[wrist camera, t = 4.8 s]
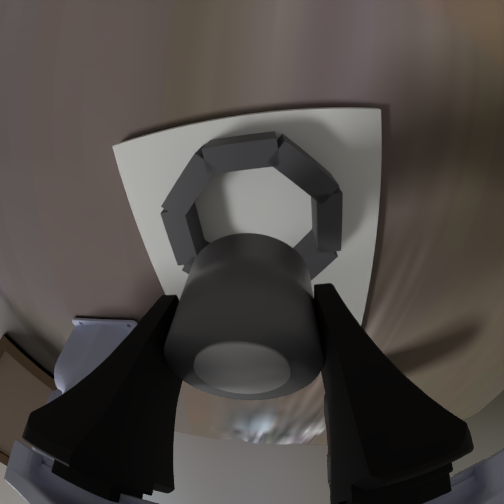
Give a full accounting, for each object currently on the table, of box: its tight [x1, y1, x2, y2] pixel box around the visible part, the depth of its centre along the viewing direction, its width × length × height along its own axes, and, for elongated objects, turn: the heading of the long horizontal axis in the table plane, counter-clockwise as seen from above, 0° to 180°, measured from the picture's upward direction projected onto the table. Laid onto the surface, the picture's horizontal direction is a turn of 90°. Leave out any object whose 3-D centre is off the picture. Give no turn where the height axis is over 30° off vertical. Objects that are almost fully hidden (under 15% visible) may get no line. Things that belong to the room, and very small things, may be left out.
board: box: [112, 107, 382, 326], centre depth 19 cm, size 16×24×3 cm, turn 8°
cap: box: [164, 233, 323, 400], centre depth 10 cm, size 5×5×4 cm
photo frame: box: [0, 335, 58, 466], centre depth 29 cm, size 15×22×25 cm
